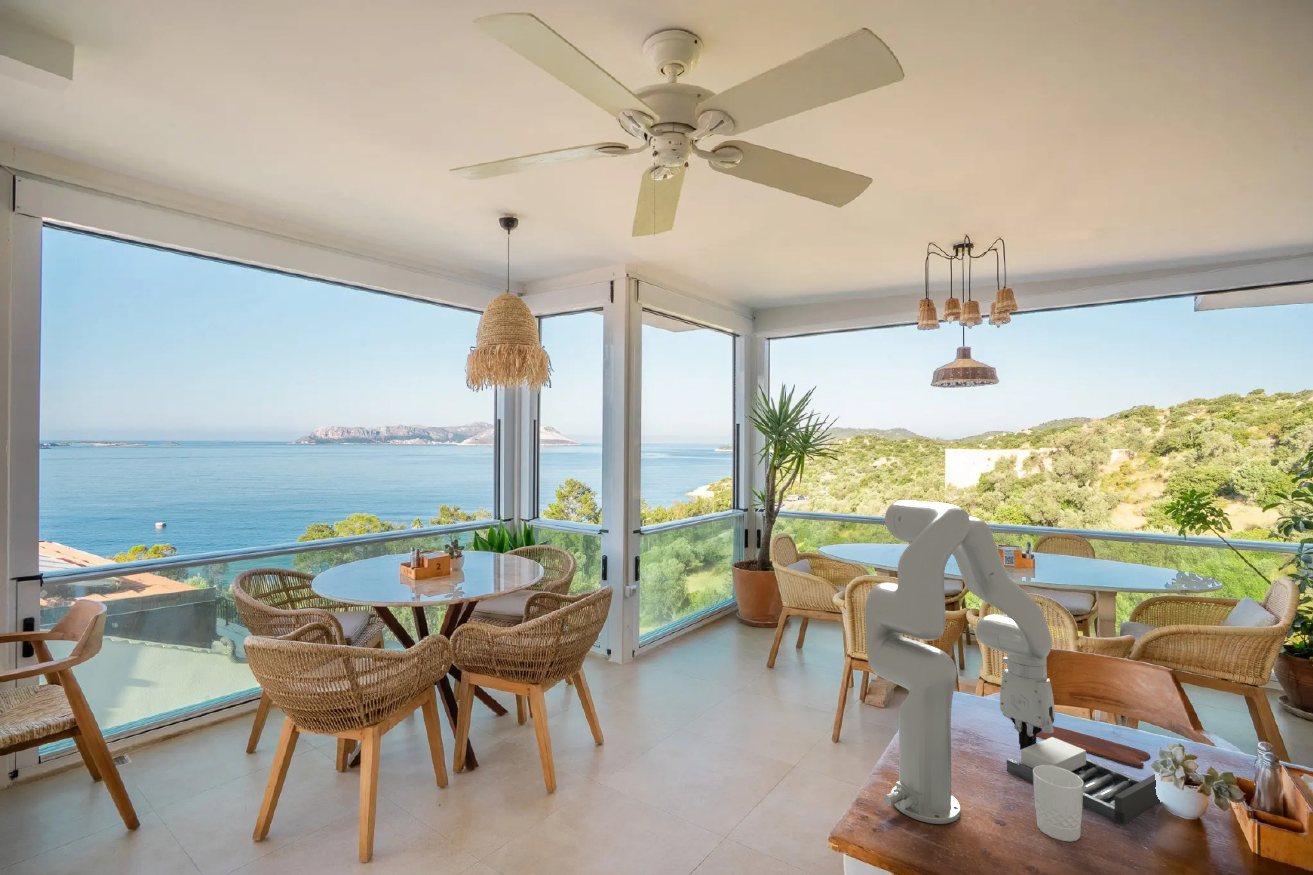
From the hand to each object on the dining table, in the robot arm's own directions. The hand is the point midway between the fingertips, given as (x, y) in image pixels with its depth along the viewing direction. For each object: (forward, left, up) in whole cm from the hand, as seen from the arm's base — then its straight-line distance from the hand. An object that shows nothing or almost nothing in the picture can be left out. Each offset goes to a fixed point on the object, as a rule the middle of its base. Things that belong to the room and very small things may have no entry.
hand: (1027, 750), depth 137 cm
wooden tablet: (+20, 0, -3) cm, 20 cm away
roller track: (0, -11, -3) cm, 11 cm away
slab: (0, -6, 0) cm, 6 cm away
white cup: (-20, -17, -3) cm, 26 cm away
